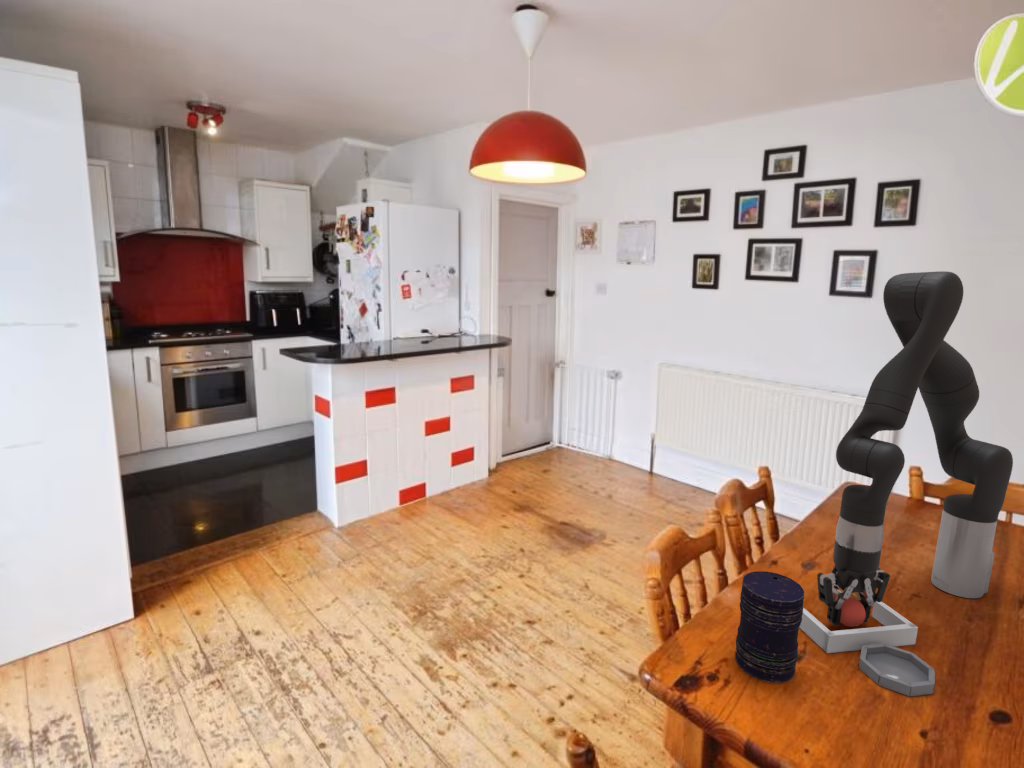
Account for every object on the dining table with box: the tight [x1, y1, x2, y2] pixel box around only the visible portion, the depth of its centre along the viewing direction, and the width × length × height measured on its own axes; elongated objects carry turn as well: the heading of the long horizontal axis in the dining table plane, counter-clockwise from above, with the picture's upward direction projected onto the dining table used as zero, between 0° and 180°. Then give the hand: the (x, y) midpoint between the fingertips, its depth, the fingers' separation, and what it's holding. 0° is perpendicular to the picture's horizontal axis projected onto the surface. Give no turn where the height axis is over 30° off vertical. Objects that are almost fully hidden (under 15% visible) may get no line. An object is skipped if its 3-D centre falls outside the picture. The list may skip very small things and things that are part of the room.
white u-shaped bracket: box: [799, 600, 919, 654], centre depth 108 cm, size 18×9×4 cm, turn 99°
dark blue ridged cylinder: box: [734, 570, 805, 684], centre depth 99 cm, size 10×10×15 cm
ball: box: [840, 596, 866, 628], centre depth 110 cm, size 6×6×6 cm
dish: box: [858, 643, 936, 697], centre depth 98 cm, size 10×10×2 cm
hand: (847, 621), depth 110 cm, fingers closed on ball, 5 cm apart
